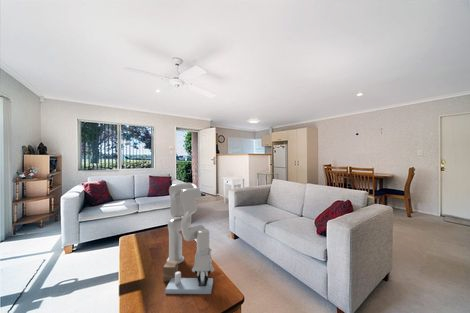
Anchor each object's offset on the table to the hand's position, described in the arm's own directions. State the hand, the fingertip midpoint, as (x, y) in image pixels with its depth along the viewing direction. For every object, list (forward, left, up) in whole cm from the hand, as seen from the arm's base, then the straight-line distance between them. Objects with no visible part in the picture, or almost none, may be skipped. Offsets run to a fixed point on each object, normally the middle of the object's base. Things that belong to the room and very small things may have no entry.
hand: (202, 281), depth 109 cm
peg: (0, 0, -3) cm, 3 cm away
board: (0, -8, -4) cm, 8 cm away
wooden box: (-9, -23, -4) cm, 25 cm away
